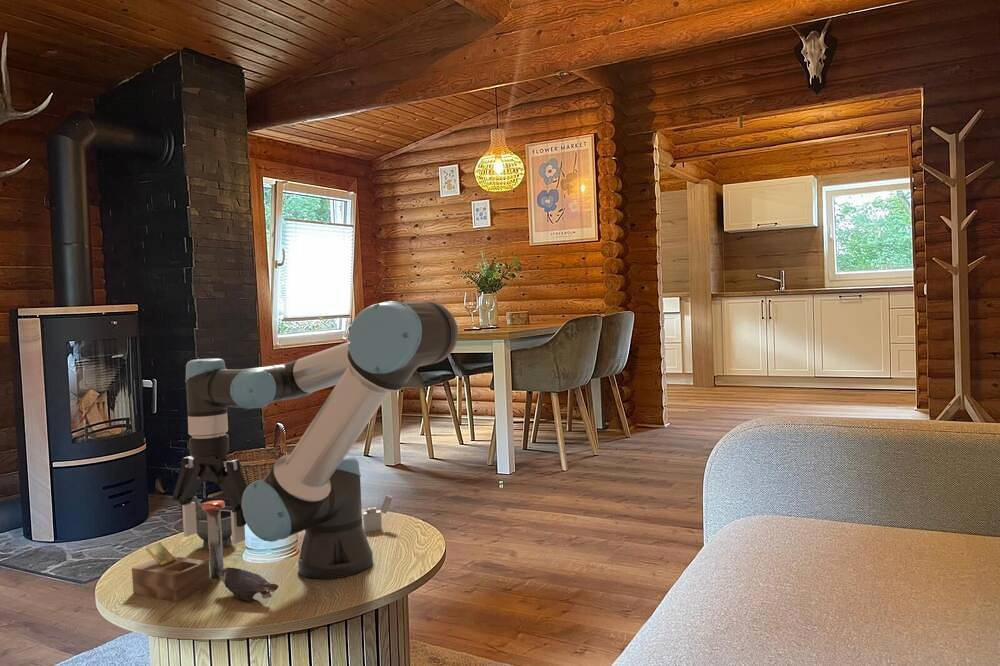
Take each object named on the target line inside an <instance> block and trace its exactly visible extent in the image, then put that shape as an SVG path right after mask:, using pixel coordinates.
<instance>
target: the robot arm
mask: <svg viewBox="0 0 1000 666" xmlns="http://www.w3.org/2000/svg"><path fill="white" fill-rule="evenodd" d="M457 324H458V323H457V321H456V319H455V317H454V315H453V314H452V312H450V310H449V309H448V308H446V307H445V306H443V305H442V304H440V303H437V302H433V301H429V300H427V301H426V300H421V301H407V302H405V301H403V302H402V301H401V302H400V301H396V300H395V301H394V300H389V301H384V302H380V303H379V302H378V303H374V304H372V305H369V306H368V307H366V308H364V309H362V310H361V311H360V312H359V313H358V314H357V315H356V317H354V319H353V321H352V323H351V325H350V327H349V329H348V330H349V331H348V335H347V338H348V339H349V341H347V342H344V343H341V344H337V345H335V346H332V347H329V348H327V349H323V350H320V351H317V352H314V353H312V354H309V355H306V356H304V357H301V358H298V359H295V360H292V361H288V362H285V363H282V364H274V365H267V366H258V367H249V368H243V369H242V368H240V369H239V368H238V369H237V368H236V369H235V368H234V369H231V368H230V369H227V367H226V364H225V363H226V362H225V360H224V359H223V358H215V357H214V358H200V359H199V358H198V359H192V360H189V361H187V362H186V365H185V379H184V380H185V381H184V382H185V388H186V389H185V390H186V405H187V407H186V408H187V429H188V430H187V433H188V435H189V436H191V437H189V439H188V447H189V448H188V449H189V456H185V457H182V458H181V464H180V465H181V467H180V468H181V469H180V471H179V475H178V477H177V481H176V484H175V487H174V490H173V493H172V501H175V502H176V501H177V502H178V504H179V505H180V514H181V516H180V517H181V519H182V526H183V527H182V528H183V529H182V530H183V537H190V536H192V535H195V534H196V535H197V526H196V507H195V502H191V501H194V500H193V498H194V496H196V494H197V493H198V491H199V489H200V488H201V486H202V485H203V483H204V482H205V481H207V482H209V483H214V484H215V485H217V486H218V487H219V489H220V490H221V491H222V493H223V495H224V496H225V498H226V500H227V501H228V502H229V504H230V506H231V508H233V509H232V511H231V527H232V535H231V541H232V543H231V545H237V544H239V543H242V542H244V541H246V527H245V526H246V525H247V527H248V529H249V530H250V531H251V532H252V534H253V535H254V536H256V537H257V538H258V539H260V540H261V541H264V542H270V543H271V542H277V541H280V540H285V539H288V538H289V537H291V536H294V535H297V534H298V533H301V532H303V531H304V536H303V540H302V544H301V549H300V552H299V555H298V559H297V563H298V564H297V566H298V573H299V574H300V575H302V576H304V577H307V578H310V579H311V578H313V579H335V578H336V579H337V578H344V577H348V576H352V575H356V574H358V573H361V572H363V571H366V570H367V569H369V568H370V567H371V566H372V565H373V562H374V559H373V557H374V556H373V550H372V548H371V546H370V544H369V540H368V538H367V535H366V532H364V525H363V509H362V507H363V506H362V492H361V491H362V489H361V488H362V487H361V477H362V475H361V472H360V463H359V461H358V459H357V458H356V457H354V456H351V455H350V456H349V455H347V454H348V453H349V452H350V450H351V449H352V447H353V446H354V445H355V443H356V442H357V440H358V438H359V437H360V436H361V434H362V432H363V431H364V430H365V429H366V427H367V426H368V424H369V423H370V421H371V420H372V418H373V417H374V416H375V414H376V413H377V411H378V410H379V409H380V407H381V405H383V403H384V401H385V400H386V398H387V397H388V396H389V394H390V393H391V392H400V391H402V389H404V388H405V386H406V385H407V383H408V381H409V380H410V379H411V377H412V376H413V375H414V373H415V371H416V370H417V369H418V368H419V367H425V366H428V365H434V364H438V363H440V362H442V361H444V360H445V359H446V358H448V357H449V356H450V355H451V354H452V352H453V351H454V349H455V348H456V345H457V342H458V337H459V328H458V325H457ZM333 386H334V387H333ZM331 387H333V389H332V391H331V392H330V394H329V395H328V397H327V398H326V400H325V401H324V403H323V404H322V406H321V408H320V409H319V410H318V412H317V413H316V415H315V417H314V418H313V420H312V421H311V422H310V424H309V425H308V427H307V428H306V430H305V431H304V433H303V435H302V436H301V438H300V439H299V440H298V442H297V444H296V445H295V446H294V448H293V450H292V451H291V453H289V454H285V455H282V456H280V457H279V458H277V460H276V461H275V462H274V464H273V465H272V467H271V468H270V470H269V472H268V473H267V475H266V476H264V477H263V479H256V480H255V481H253V482H251V483H250V484H248V485H247V482H246V480H245V477H244V475H243V473H242V470H241V463H240V460H239V459H238V458H236V459H233V460H228V459H227V455H228V453H229V451H230V439H229V434H227V432H228V431H229V420H228V408H239V409H240V408H242V409H246V410H252V409H263V408H265V407H267V406H269V404H272V403H277V402H281V401H286V400H293V399H294V400H295V399H300V398H305V397H306V396H307V397H308V396H310V395H311V394H313V393H314V392H317V391H320V390H323V389H327V388H331ZM190 502H191V503H190Z"/></svg>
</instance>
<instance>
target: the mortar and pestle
mask: <svg viewBox="0 0 1000 666" xmlns="http://www.w3.org/2000/svg"><path fill="white" fill-rule="evenodd" d="M198 499H199V498H198V497H197V495H195V496H194V498H193V500H194V501H191V502H195V507H196V526H197V533H196V535H197V536H198V537H199V538H200V539H201V540H203V541H202V542H203V543H202V548H204V550H209V542H208V526H207V511H203V510H202V503H201V502H200V500H198ZM191 502H190V503H191ZM232 510H233V509H232ZM232 510H229V509H220V514H221V531H222V547H223V548H226V547H229V546H231V545H232V527H231V511H232Z"/></svg>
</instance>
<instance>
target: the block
mask: <svg viewBox="0 0 1000 666" xmlns="http://www.w3.org/2000/svg"><path fill="white" fill-rule="evenodd" d="M172 556H173V557H175V558H176V561H174V562H172V563H169V564H167V565H164V566H162V567H160V566H159V564H158V563H157V562H156V561H155V560H154V559H151V560H149V561H147V562H144V563H141V564H139V565H135V566H132V567H131V576H132V577H131V578H132V592H133V594H134V593H137V594H136V595H139V594H141V595H140V596H146V597H151V598H155V599H160V600H165V601H171V602H180V601H182V600H185V598H186V599H187V598H188V597H191V596H193V595H195V594H197V593H200V592H202V591H204V590H207V589H208V588H210V587H211V575H210V560H209V561H207V560H201V559H195V558H188V557H180V556H175V555H172Z"/></svg>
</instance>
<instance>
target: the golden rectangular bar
mask: <svg viewBox="0 0 1000 666" xmlns="http://www.w3.org/2000/svg"><path fill="white" fill-rule="evenodd" d="M145 551H146V552H147V553H148V554H149V555H150V557H151V558H152V559H153V560H155V561H156V562H157V563H158V564H159V566H160V567H162V566H164V565H167V564H169V563H172V562H174V561H176V558H175V557H173V556H174V555H173V554H172V553H171V552H170V551H169V550H168V549H167V548H166V547H165V546H164V545H163V544H162V542H161V541H159V542H156V543H153V544H150V545H147V546H146V548H145Z"/></svg>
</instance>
